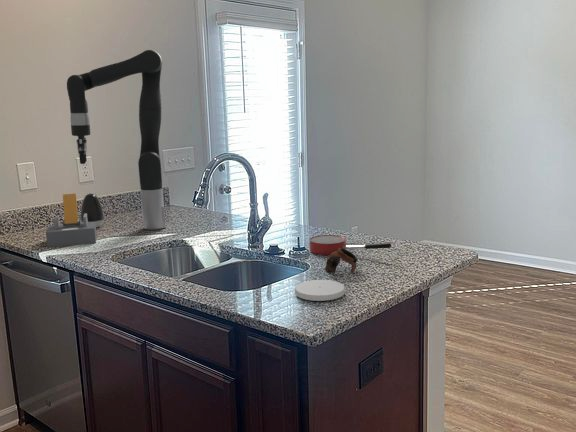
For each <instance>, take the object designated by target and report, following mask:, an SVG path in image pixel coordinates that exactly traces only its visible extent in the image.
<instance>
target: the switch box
mask: <svg viewBox="0 0 576 432" xmlns="http://www.w3.org/2000/svg"><path fill="white" fill-rule="evenodd" d="M83 220H84V223H82V222H80V225H71V226H63V223H62V224H61V223H60V217H59V215H55V216H54V219H53V223H54V224H51V225H50V224H49V225H48V228H47V230H45V236H46V246H47V248H53V247H55V248H56V247H65V246H66V247H67V246H76V245H77V246H78V245H87V244H96V242H97V237H98V235H97V234H98V233H97V228H96V222H88V220H87V213H86V214H84V216H83Z"/></svg>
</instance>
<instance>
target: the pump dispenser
mask: <svg viewBox="0 0 576 432" xmlns="http://www.w3.org/2000/svg"><path fill="white" fill-rule="evenodd" d="M104 212H105V211H104V210H103V206H102V204H101V201H100V199H99V197H98V196H97V194H96V193H88V194H86V195H85V196H84V197H83V200H82V203H81V208H80V222H81V223H84V220H83V216H84V214H86V213H87V220H88V222H96V229H98V228H100V227H101V226H103V224H104V221H105V213H104Z"/></svg>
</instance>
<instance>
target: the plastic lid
mask: <svg viewBox="0 0 576 432" xmlns="http://www.w3.org/2000/svg"><path fill="white" fill-rule="evenodd" d="M345 290H346V289H345V285H344V284H342V283H341V282H338V281H335V280H329V279H311V280H307V281H306V280H305V281H302V282H300V283H298V284H296V285H295V287H294V294H295V296H297V297H298V298H300V299H303V300H306V301H317V302H323V301H330V300H331V301H332V300H337V299H340V298H341V297H342V296H344V295H345V293H346V291H345Z"/></svg>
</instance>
